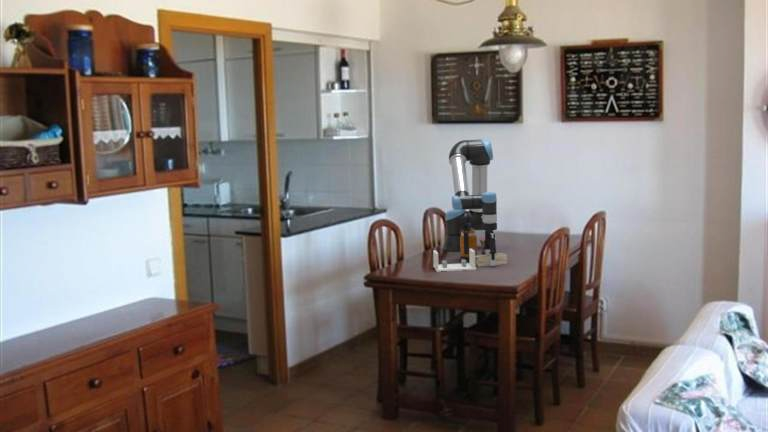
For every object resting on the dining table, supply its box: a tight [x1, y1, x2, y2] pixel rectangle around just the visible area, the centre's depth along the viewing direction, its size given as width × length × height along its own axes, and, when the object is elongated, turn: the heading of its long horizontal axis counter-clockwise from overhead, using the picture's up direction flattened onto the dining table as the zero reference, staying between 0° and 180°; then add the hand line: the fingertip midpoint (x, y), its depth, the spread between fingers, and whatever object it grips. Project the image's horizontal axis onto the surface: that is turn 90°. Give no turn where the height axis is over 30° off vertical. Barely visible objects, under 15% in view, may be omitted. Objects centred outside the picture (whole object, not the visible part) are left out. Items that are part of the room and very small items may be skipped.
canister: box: [459, 223, 478, 262], centre depth 429 cm, size 9×11×20 cm
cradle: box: [432, 249, 477, 273], centre depth 408 cm, size 14×20×9 cm
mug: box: [479, 237, 497, 255], centre depth 434 cm, size 12×9×11 cm
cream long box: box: [475, 252, 508, 268], centre depth 415 cm, size 6×16×5 cm, turn 107°
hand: (490, 263), depth 416 cm, fingers open, 11 cm apart
